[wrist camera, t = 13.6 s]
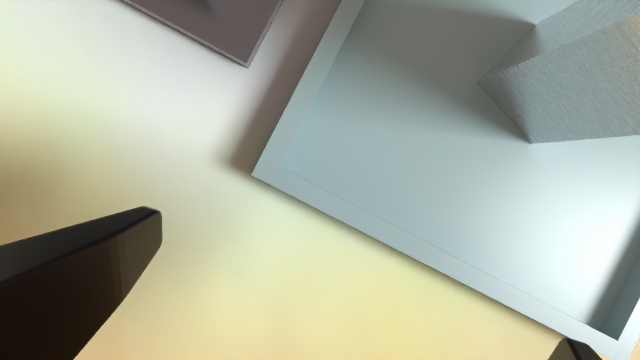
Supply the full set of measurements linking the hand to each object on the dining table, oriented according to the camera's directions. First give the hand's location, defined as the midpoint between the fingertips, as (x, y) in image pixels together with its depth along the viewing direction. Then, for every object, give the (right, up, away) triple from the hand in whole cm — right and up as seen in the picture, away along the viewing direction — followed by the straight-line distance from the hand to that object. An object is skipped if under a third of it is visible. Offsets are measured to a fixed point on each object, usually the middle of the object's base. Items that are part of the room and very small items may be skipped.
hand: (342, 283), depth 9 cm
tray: (+9, +6, +9) cm, 14 cm away
